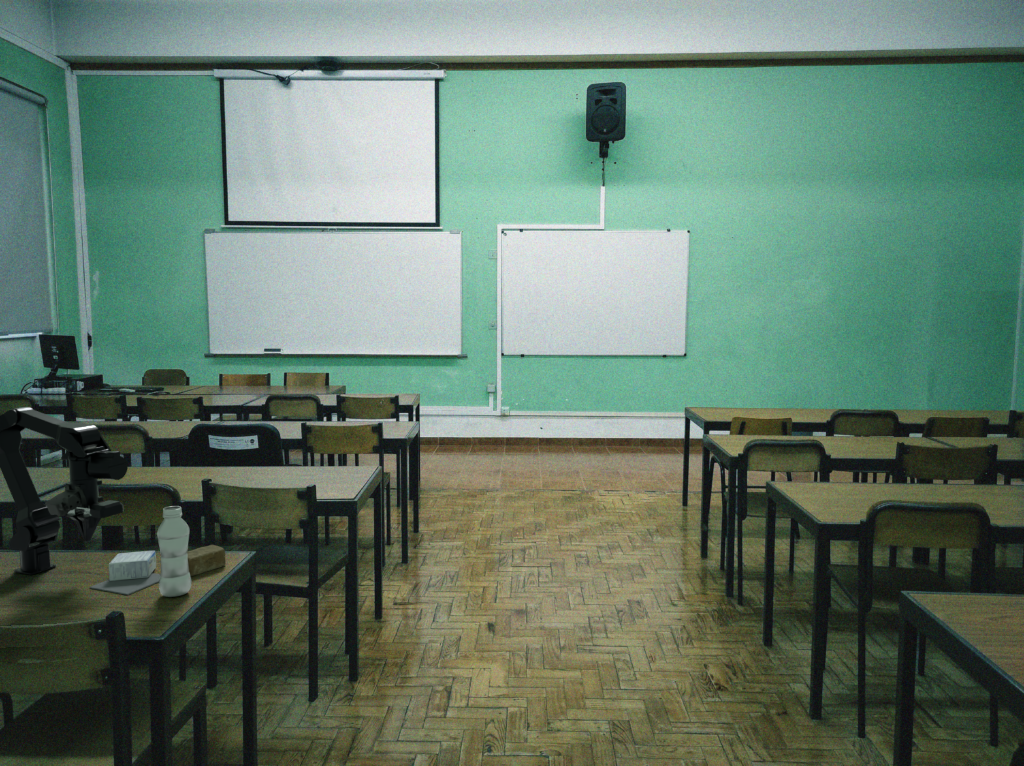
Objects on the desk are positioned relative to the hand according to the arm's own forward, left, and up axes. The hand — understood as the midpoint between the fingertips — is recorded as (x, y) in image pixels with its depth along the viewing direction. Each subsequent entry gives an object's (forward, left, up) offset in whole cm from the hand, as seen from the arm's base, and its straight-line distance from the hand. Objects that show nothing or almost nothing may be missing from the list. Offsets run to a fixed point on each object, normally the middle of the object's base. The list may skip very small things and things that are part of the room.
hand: (87, 541), depth 170 cm
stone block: (+23, +13, -9) cm, 27 cm away
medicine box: (+7, +1, -6) cm, 9 cm away
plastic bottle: (+30, -2, -9) cm, 31 cm away
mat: (+14, 0, -8) cm, 16 cm away
